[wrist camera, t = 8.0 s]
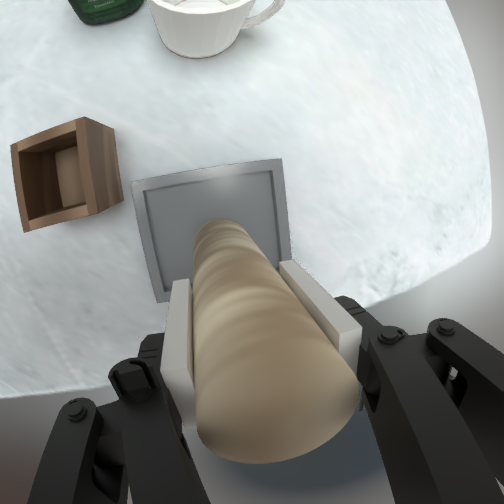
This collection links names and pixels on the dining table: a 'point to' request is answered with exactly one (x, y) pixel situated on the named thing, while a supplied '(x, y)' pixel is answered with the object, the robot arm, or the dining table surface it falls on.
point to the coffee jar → (103, 9)
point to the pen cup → (65, 173)
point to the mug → (204, 23)
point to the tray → (209, 215)
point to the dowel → (260, 356)
